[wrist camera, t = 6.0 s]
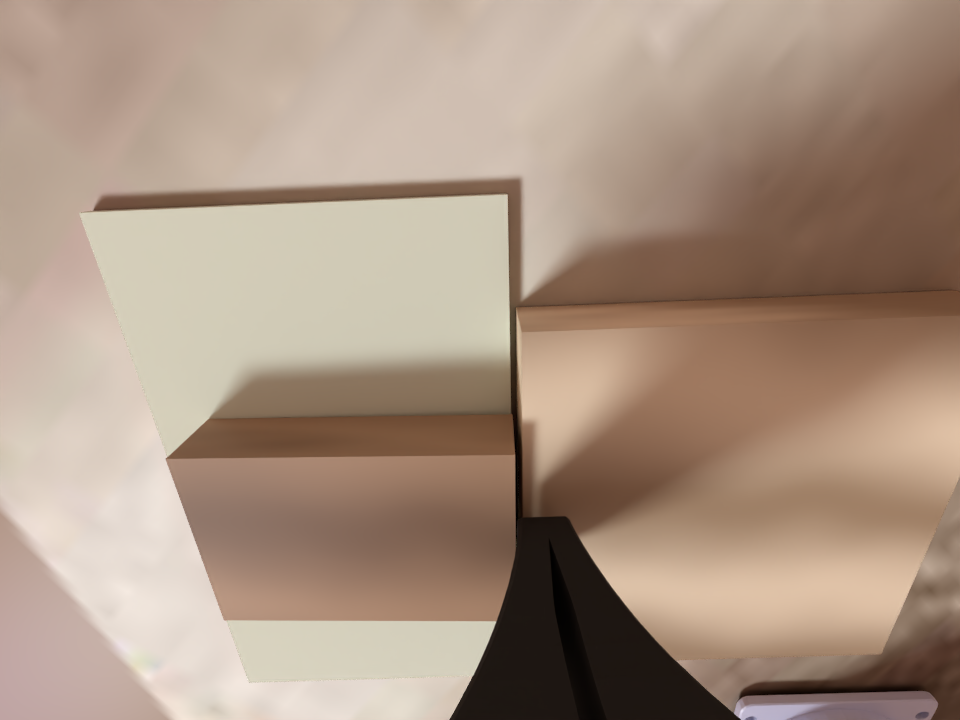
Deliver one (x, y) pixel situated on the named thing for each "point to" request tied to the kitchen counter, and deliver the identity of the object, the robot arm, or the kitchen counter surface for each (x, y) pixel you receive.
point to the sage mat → (318, 357)
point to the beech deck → (746, 459)
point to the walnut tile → (353, 515)
